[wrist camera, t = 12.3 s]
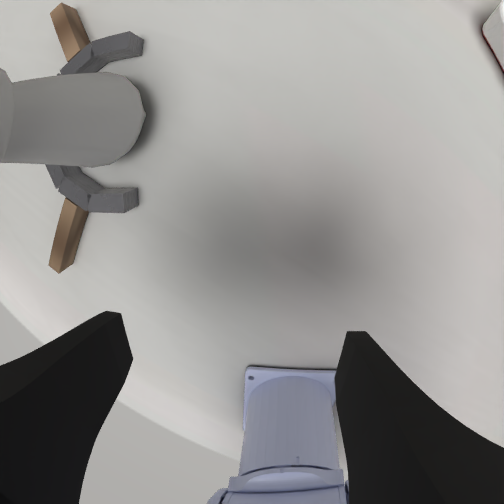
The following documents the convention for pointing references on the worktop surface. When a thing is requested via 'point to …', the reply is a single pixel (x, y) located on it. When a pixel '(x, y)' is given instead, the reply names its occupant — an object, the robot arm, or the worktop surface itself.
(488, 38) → the pan
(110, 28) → the worktop surface
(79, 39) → the hinge leaves
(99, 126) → the salt shaker
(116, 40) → the silver segmented arch
